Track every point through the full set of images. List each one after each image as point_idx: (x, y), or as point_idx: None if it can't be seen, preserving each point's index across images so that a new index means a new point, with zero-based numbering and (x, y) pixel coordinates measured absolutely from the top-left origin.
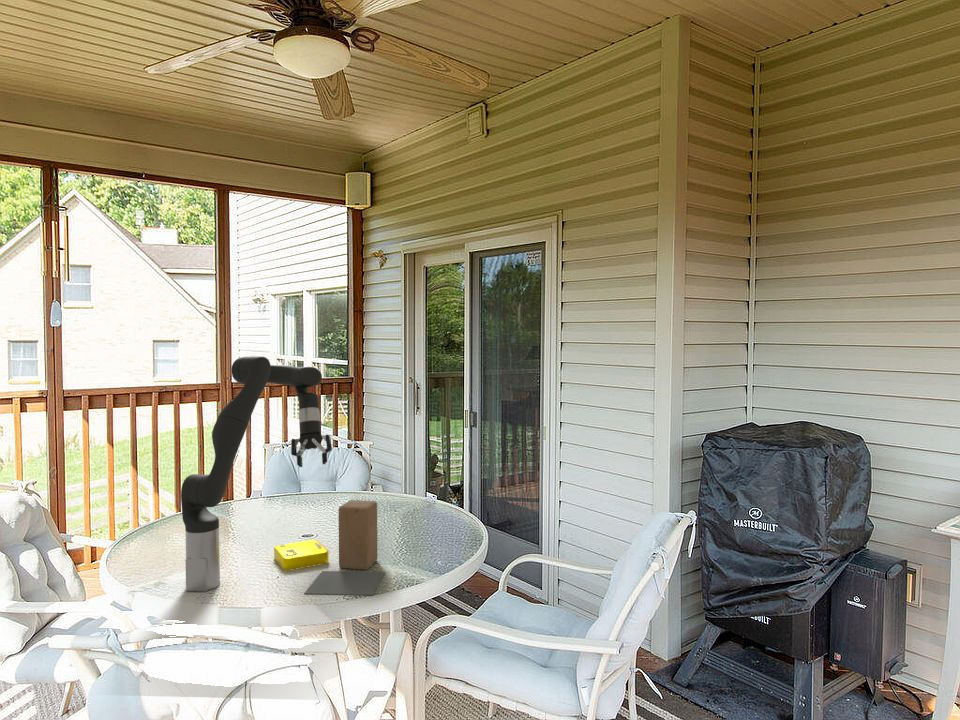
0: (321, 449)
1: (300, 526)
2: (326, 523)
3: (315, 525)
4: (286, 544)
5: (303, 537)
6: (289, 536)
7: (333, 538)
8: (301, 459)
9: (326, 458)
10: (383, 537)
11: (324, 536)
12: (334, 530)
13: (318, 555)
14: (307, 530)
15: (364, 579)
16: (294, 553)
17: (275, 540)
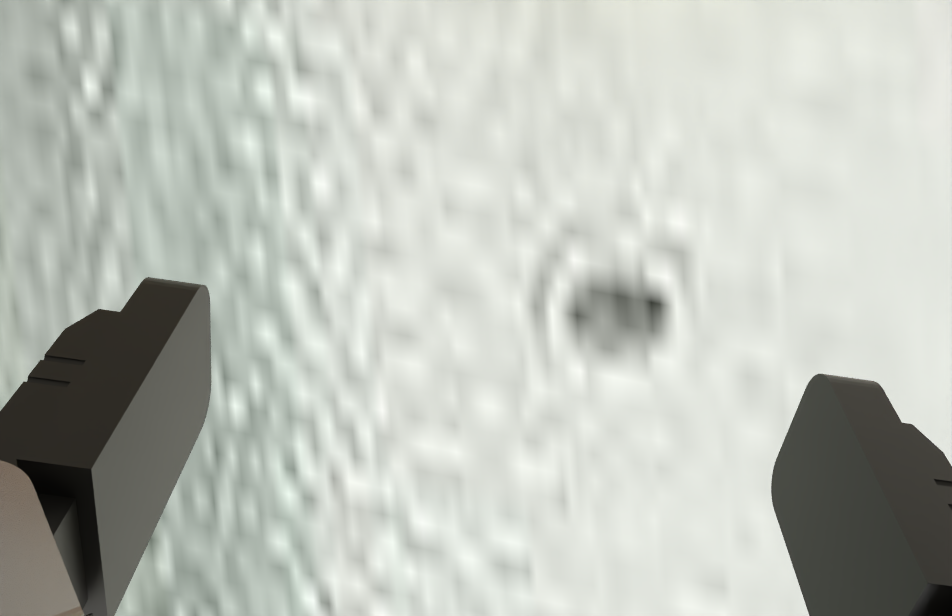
0: (11, 600)
1: (691, 574)
2: (484, 607)
3: (569, 574)
4: None
5: (651, 267)
6: (772, 319)
7: (398, 191)
8: (845, 594)
9: (37, 392)
10: (4, 144)
11: (476, 261)
12: (407, 409)
13: None
14: (627, 454)
15: None
16: None
17: (891, 227)
